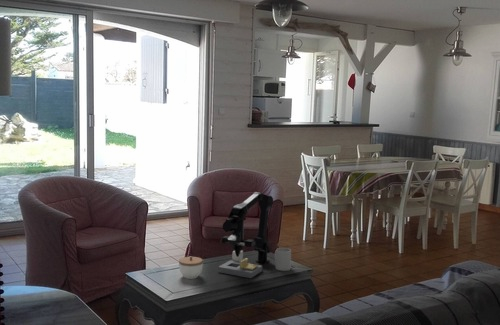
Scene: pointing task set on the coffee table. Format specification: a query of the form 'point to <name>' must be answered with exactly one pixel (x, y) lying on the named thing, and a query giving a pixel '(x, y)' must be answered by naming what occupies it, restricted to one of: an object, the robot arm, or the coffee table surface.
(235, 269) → the socket block
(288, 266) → the mug
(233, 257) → the plug
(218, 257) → the coffee table surface
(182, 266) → the lidded bowl
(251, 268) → the tan piece
